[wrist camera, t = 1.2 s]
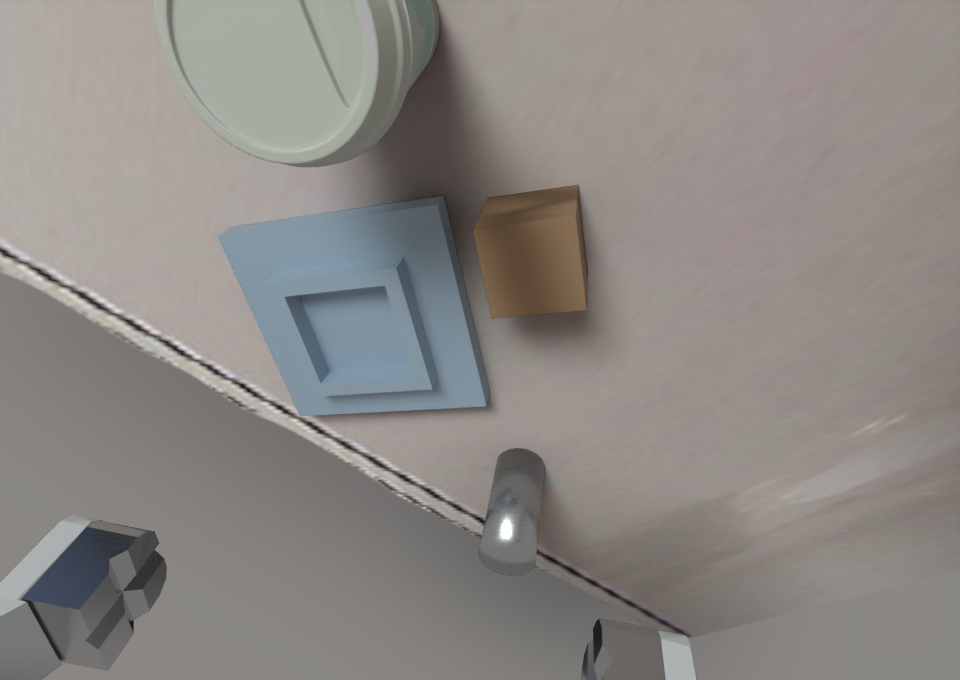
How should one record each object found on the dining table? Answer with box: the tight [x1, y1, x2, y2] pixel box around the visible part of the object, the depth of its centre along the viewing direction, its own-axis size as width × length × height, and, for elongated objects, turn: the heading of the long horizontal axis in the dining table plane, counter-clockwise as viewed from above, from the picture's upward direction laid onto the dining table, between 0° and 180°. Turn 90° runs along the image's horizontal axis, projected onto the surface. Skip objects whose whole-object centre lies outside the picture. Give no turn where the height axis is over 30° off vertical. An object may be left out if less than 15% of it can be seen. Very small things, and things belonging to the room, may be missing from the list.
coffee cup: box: [154, 0, 439, 167], centre depth 23 cm, size 9×9×12 cm
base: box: [218, 196, 490, 416], centre depth 36 cm, size 14×14×3 cm
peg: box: [479, 448, 545, 576], centre depth 39 cm, size 4×4×8 cm
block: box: [473, 185, 588, 319], centre depth 31 cm, size 5×5×5 cm
